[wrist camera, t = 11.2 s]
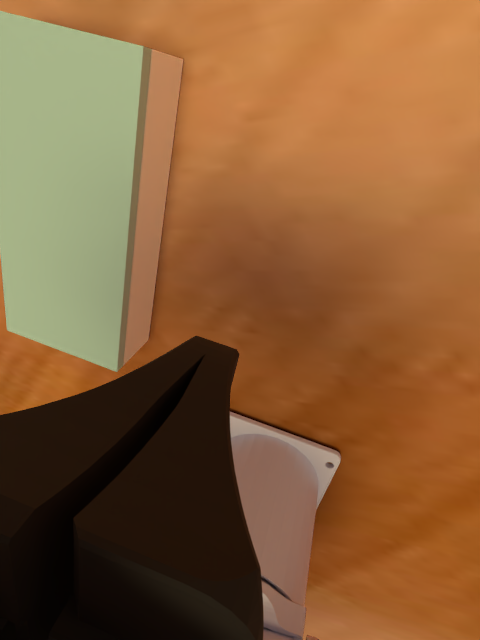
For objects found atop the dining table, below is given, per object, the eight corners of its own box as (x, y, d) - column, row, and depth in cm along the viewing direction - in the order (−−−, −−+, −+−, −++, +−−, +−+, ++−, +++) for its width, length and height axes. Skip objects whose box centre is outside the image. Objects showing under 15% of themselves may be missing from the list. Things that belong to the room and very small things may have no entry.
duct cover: (122, 366, 22) (117, 371, 22) (15, 325, 23) (7, 330, 23) (151, 49, 15) (143, 46, 14) (-9, 9, 16) (-21, 5, 15)
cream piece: (148, 339, 25) (123, 365, 22) (41, 301, 26) (6, 322, 23) (183, 59, 18) (152, 49, 15) (32, 21, 19) (-21, 6, 16)
